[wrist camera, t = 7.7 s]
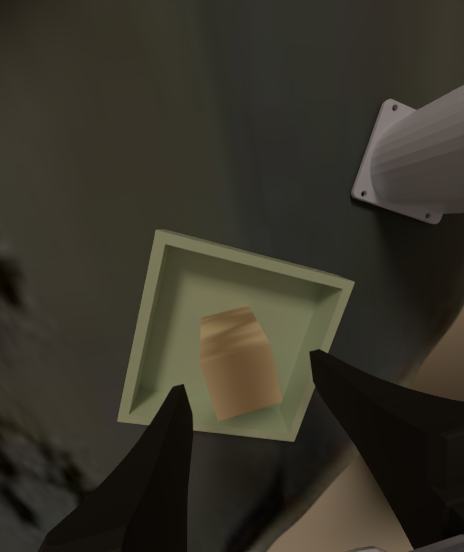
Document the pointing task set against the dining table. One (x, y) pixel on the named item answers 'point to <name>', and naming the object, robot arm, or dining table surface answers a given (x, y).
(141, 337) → the sage bin
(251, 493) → the dining table surface
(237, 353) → the oak block
